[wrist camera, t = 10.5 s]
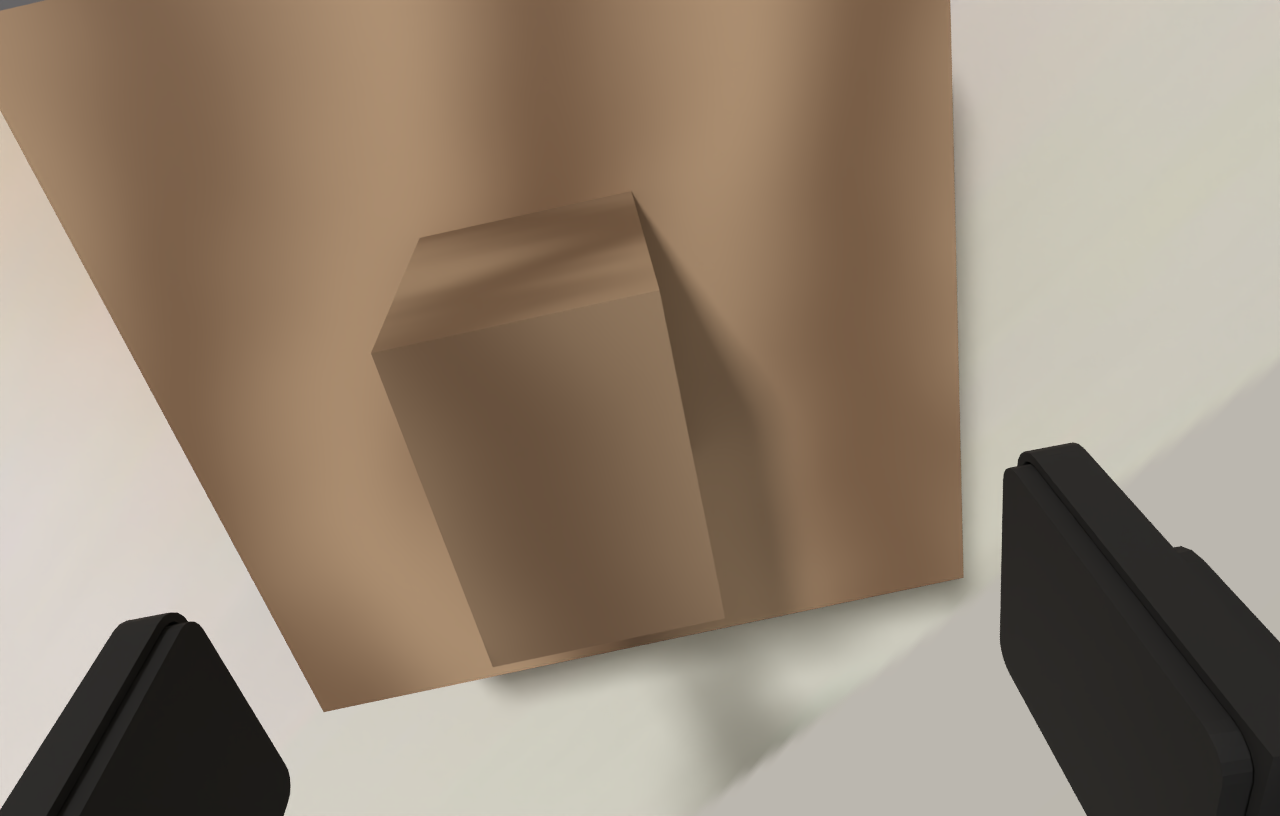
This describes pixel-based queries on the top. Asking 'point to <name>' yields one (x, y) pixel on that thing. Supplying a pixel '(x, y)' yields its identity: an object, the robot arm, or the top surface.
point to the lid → (524, 304)
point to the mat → (15, 3)
